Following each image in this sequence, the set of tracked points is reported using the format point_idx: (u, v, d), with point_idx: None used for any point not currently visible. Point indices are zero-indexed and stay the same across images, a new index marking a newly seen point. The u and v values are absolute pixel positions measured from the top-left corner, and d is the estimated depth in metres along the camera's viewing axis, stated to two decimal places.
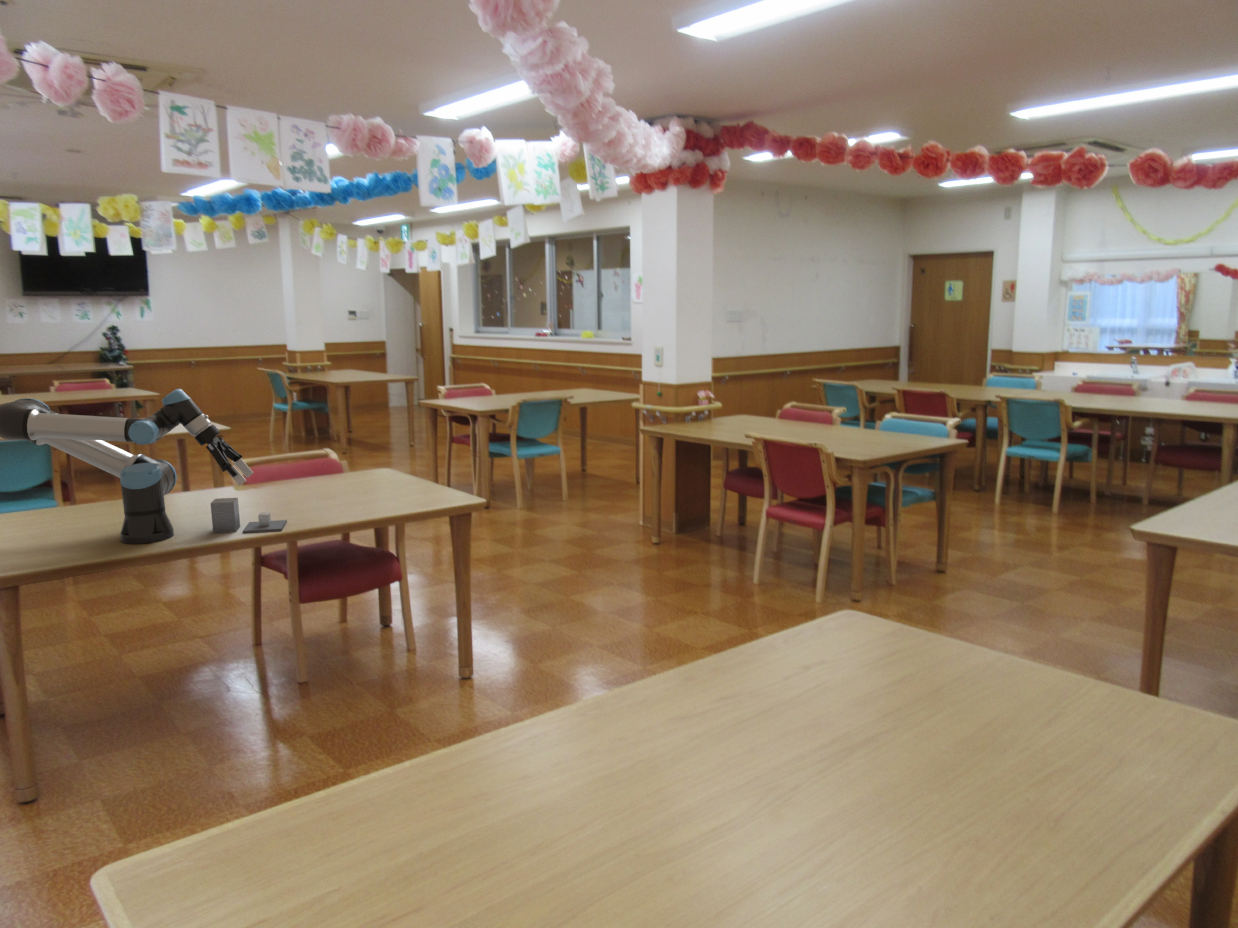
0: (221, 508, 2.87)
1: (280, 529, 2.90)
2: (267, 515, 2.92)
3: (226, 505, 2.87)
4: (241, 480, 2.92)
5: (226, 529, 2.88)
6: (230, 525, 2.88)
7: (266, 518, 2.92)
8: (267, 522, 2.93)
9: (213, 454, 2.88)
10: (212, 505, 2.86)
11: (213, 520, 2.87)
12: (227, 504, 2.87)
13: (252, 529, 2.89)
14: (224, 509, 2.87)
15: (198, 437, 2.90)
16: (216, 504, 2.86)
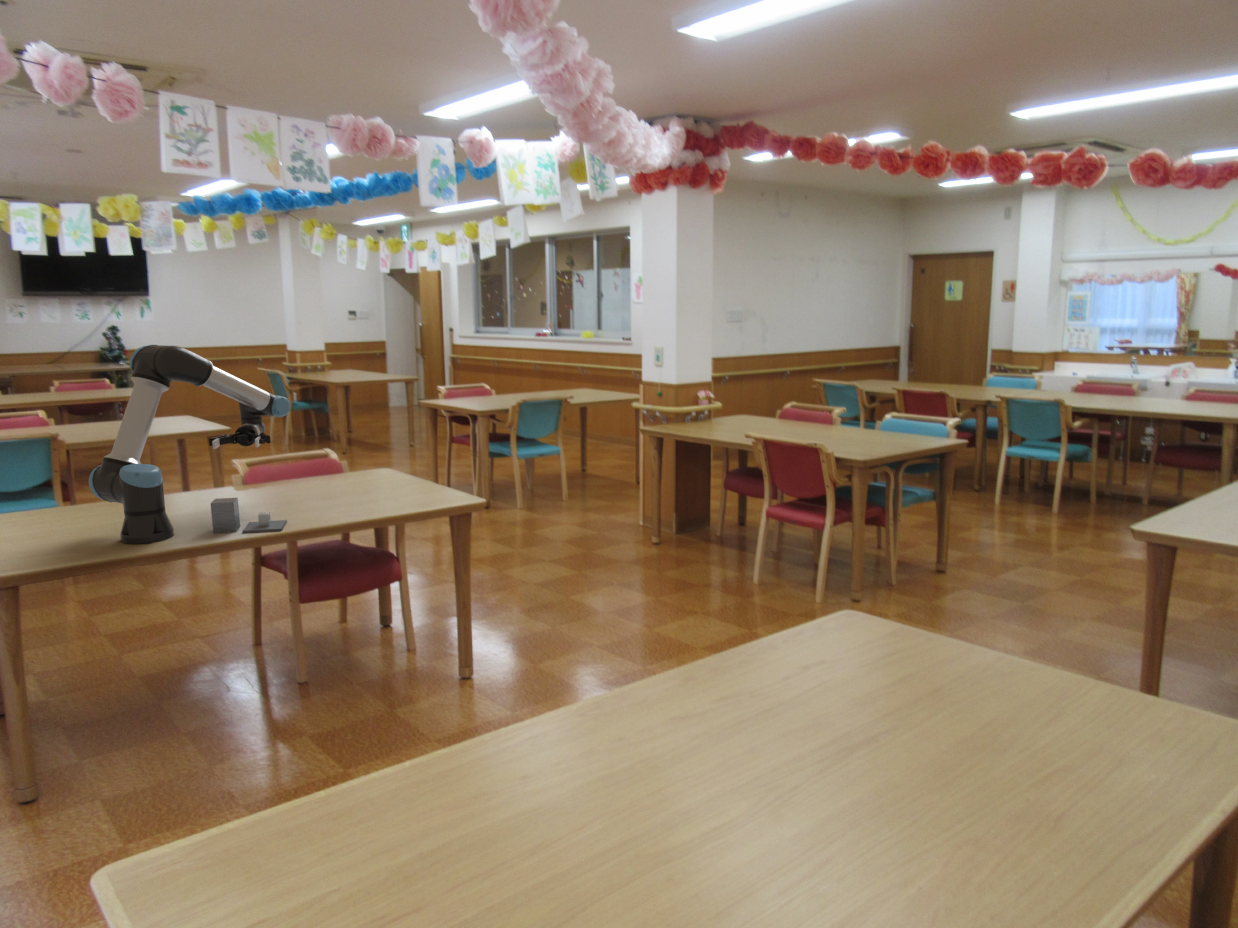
0: (221, 508, 2.87)
1: (280, 529, 2.90)
2: (267, 515, 2.92)
3: (226, 505, 2.87)
4: (257, 443, 3.03)
5: (226, 529, 2.88)
6: (230, 525, 2.88)
7: (266, 518, 2.92)
8: (267, 522, 2.93)
9: None
10: (212, 505, 2.86)
11: (213, 520, 2.87)
12: (227, 504, 2.87)
13: (252, 529, 2.89)
14: (224, 509, 2.87)
15: (255, 429, 3.21)
16: (216, 504, 2.86)
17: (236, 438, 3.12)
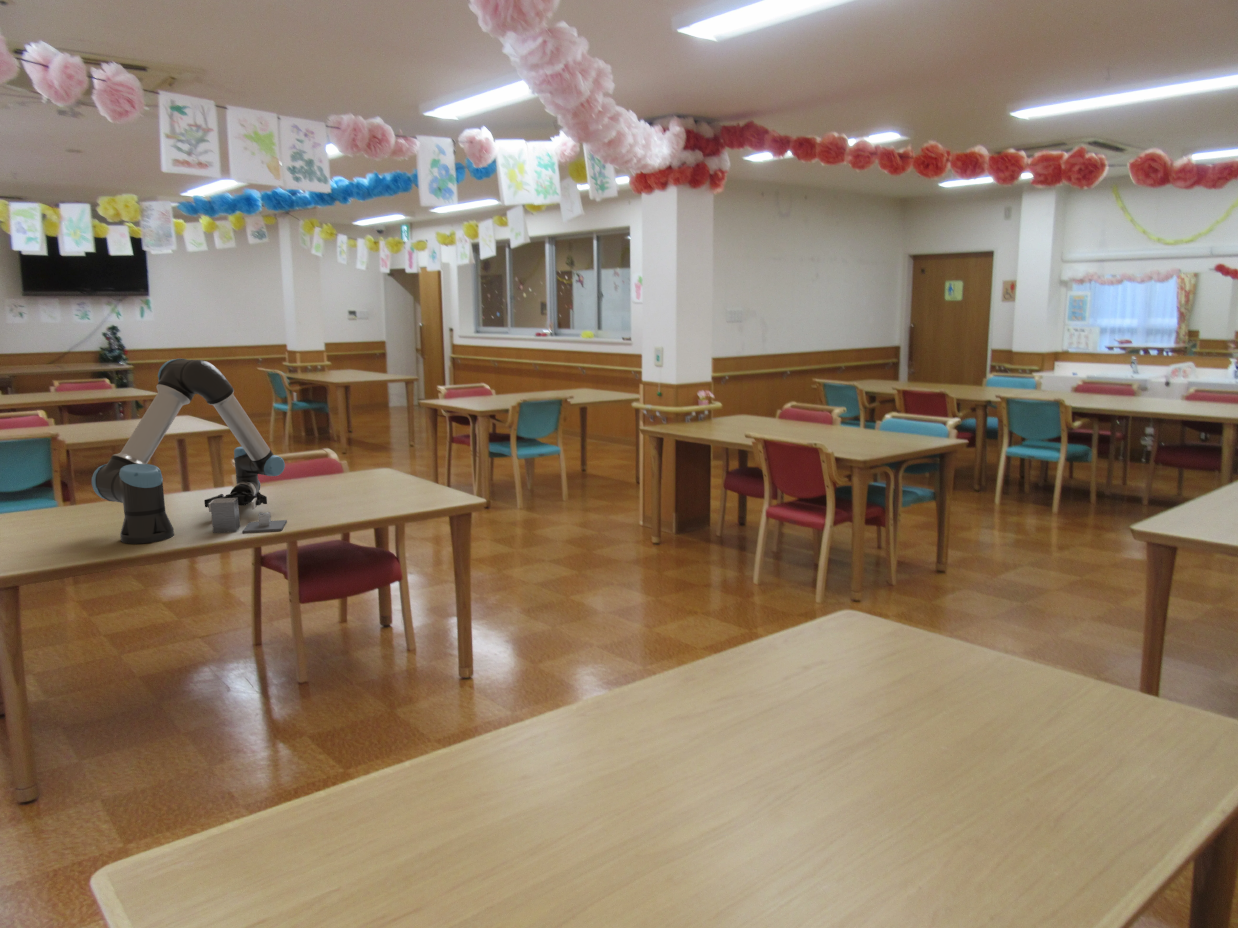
0: (221, 508, 2.87)
1: (280, 529, 2.90)
2: (267, 515, 2.92)
3: (226, 505, 2.87)
4: (254, 505, 3.01)
5: (226, 529, 2.88)
6: (230, 525, 2.88)
7: (266, 518, 2.92)
8: (267, 522, 2.93)
9: None
10: (212, 505, 2.86)
11: (213, 520, 2.87)
12: (227, 504, 2.87)
13: (252, 529, 2.89)
14: (224, 509, 2.87)
15: (251, 488, 3.18)
16: (216, 504, 2.86)
17: None
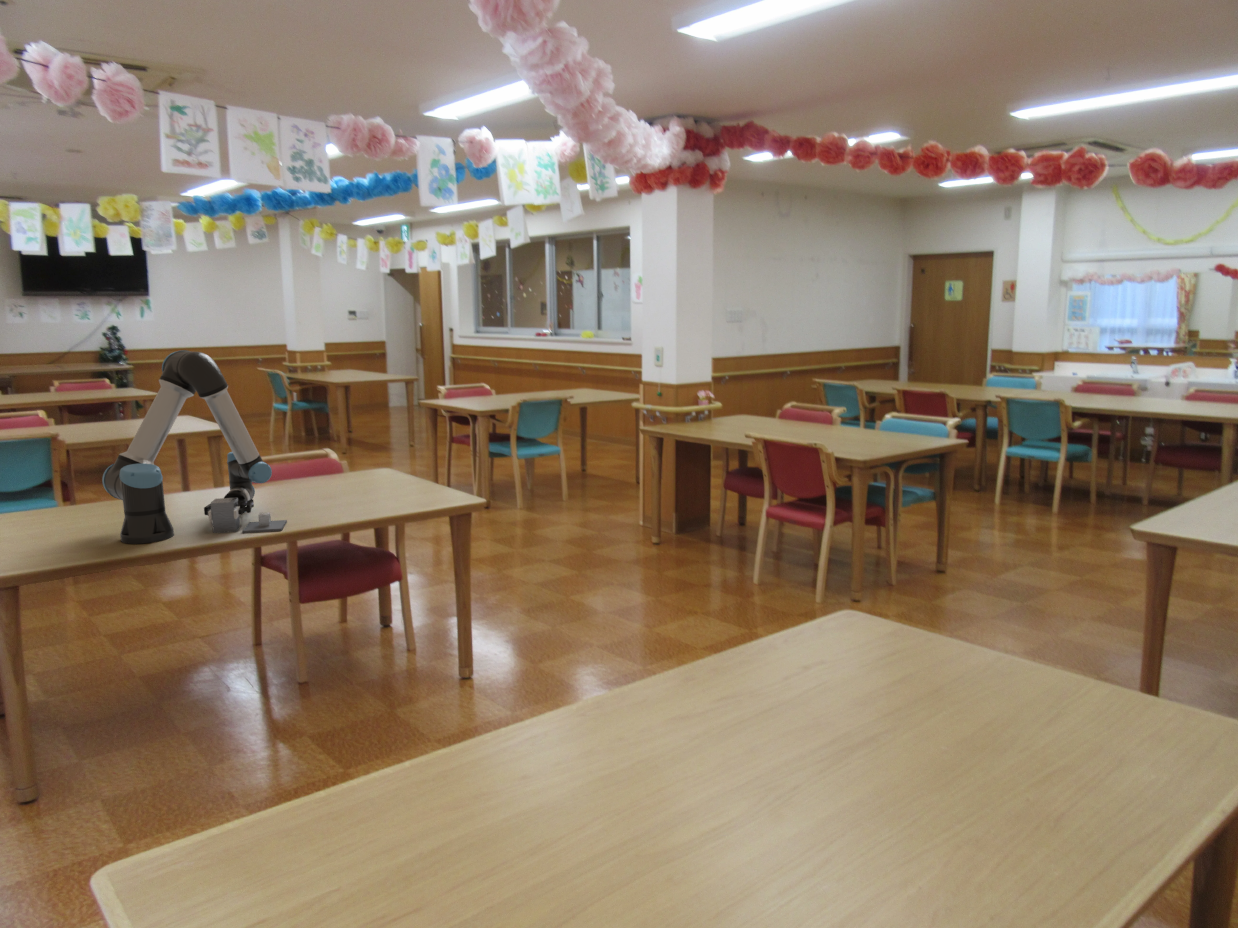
0: (221, 508, 2.87)
1: (280, 529, 2.90)
2: (267, 515, 2.92)
3: (226, 505, 2.87)
4: (236, 514, 2.88)
5: (226, 529, 2.88)
6: (230, 525, 2.88)
7: (266, 518, 2.92)
8: (267, 522, 2.93)
9: (251, 503, 3.00)
10: (212, 505, 2.86)
11: (213, 520, 2.87)
12: (227, 504, 2.87)
13: (252, 529, 2.89)
14: (224, 509, 2.87)
15: (245, 495, 3.08)
16: (216, 504, 2.86)
17: None
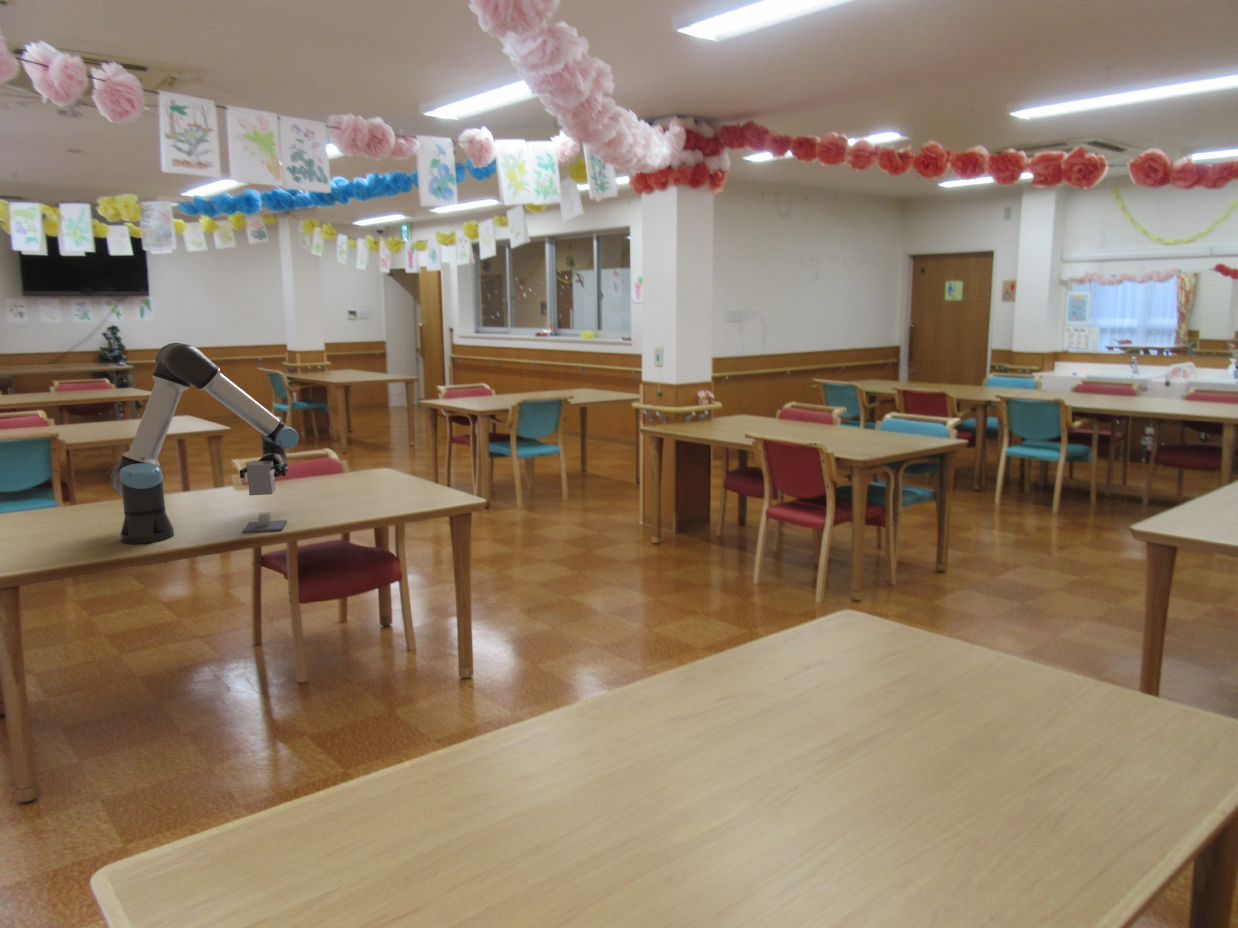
0: (257, 470, 2.87)
1: (280, 529, 2.90)
2: (267, 515, 2.92)
3: (262, 467, 2.87)
4: (272, 476, 2.88)
5: (262, 491, 2.89)
6: (266, 487, 2.89)
7: (266, 518, 2.92)
8: (267, 522, 2.93)
9: (285, 467, 3.01)
10: (248, 467, 2.87)
11: (249, 482, 2.87)
12: (263, 466, 2.87)
13: (252, 529, 2.89)
14: (260, 472, 2.88)
15: (278, 459, 3.08)
16: (252, 466, 2.87)
17: None
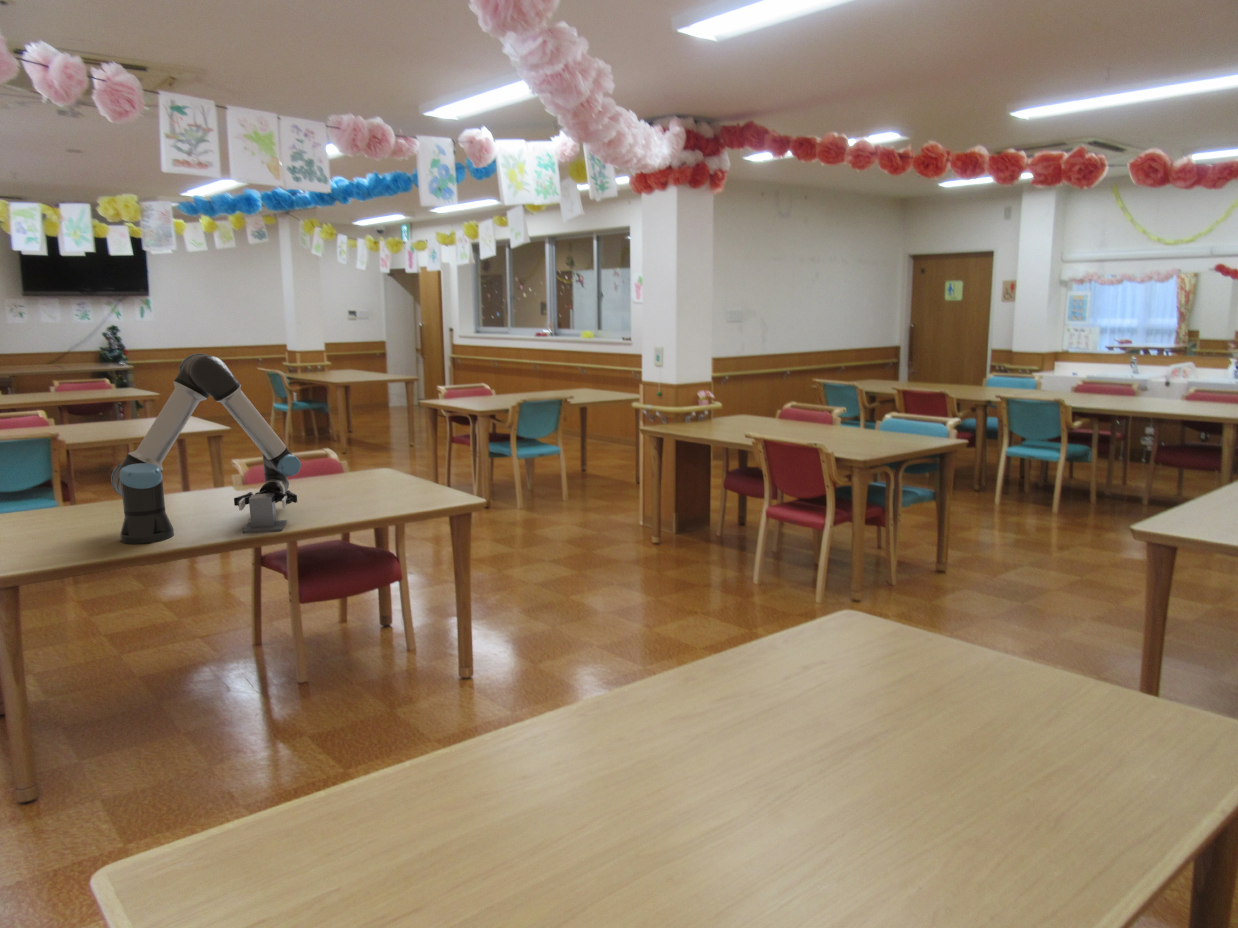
0: (259, 503, 2.89)
1: (280, 529, 2.90)
2: None
3: (264, 500, 2.90)
4: (285, 504, 2.92)
5: (264, 524, 2.91)
6: (268, 520, 2.91)
7: None
8: None
9: None
10: (250, 500, 2.89)
11: (251, 515, 2.89)
12: (265, 499, 2.90)
13: (252, 529, 2.89)
14: (262, 505, 2.90)
15: (281, 486, 3.10)
16: (254, 499, 2.89)
17: None
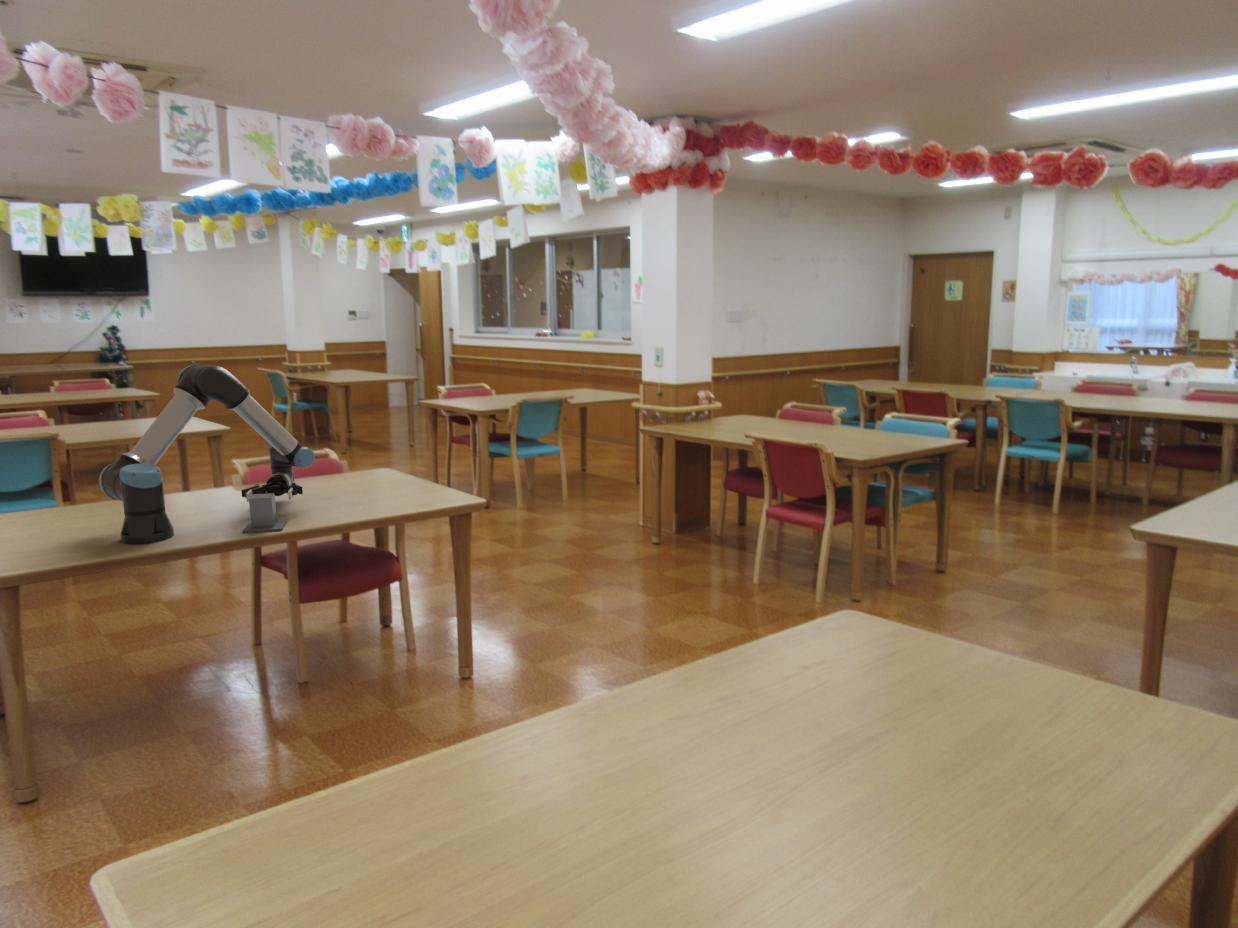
0: (259, 503, 2.89)
1: (280, 529, 2.90)
2: None
3: (264, 500, 2.90)
4: (291, 495, 3.05)
5: (264, 524, 2.91)
6: (268, 520, 2.91)
7: None
8: None
9: None
10: (250, 500, 2.89)
11: (251, 515, 2.89)
12: (265, 499, 2.90)
13: (252, 529, 2.89)
14: (262, 505, 2.90)
15: (286, 479, 3.22)
16: (254, 499, 2.89)
17: (268, 489, 3.14)
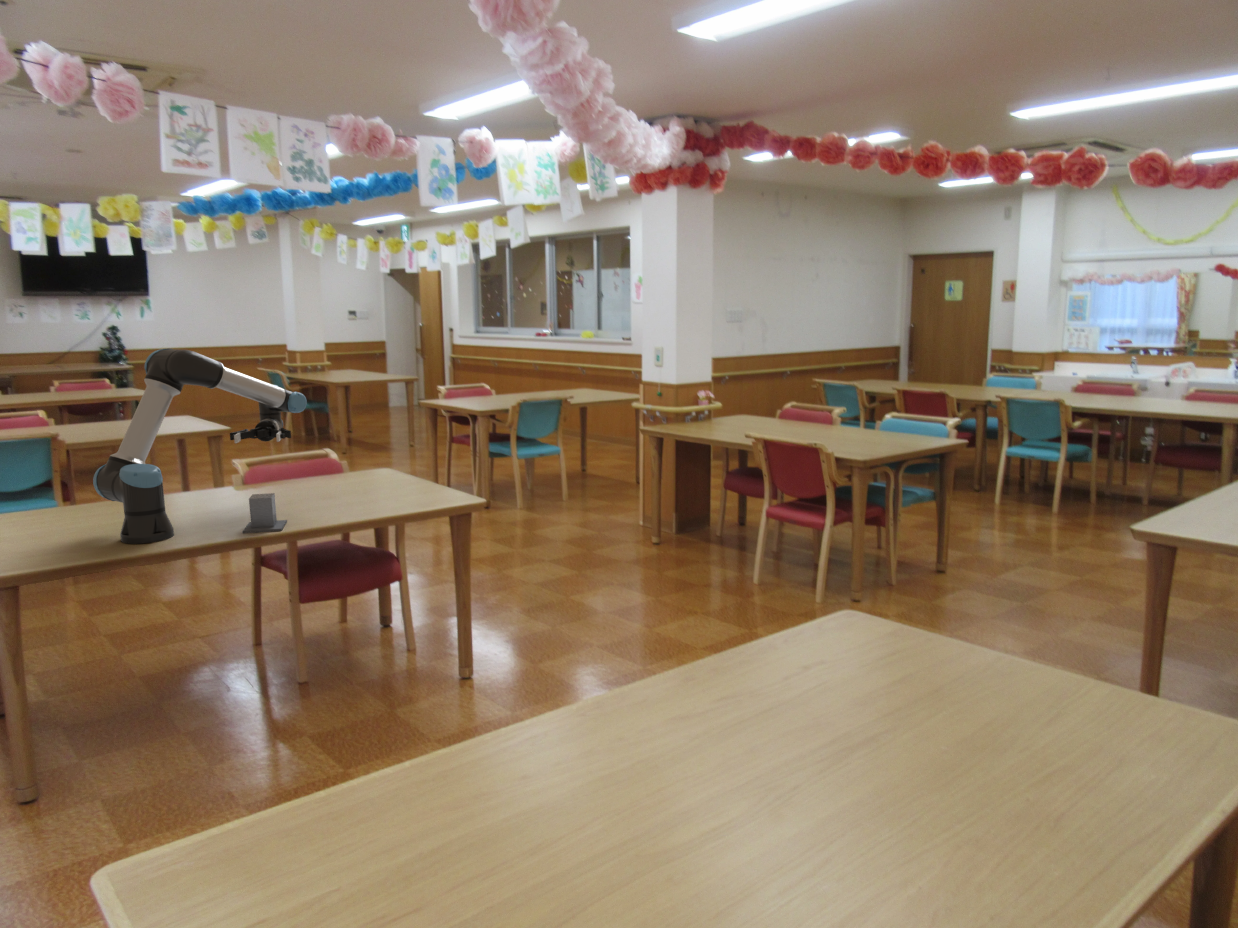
0: (259, 503, 2.89)
1: (280, 529, 2.90)
2: None
3: (264, 500, 2.90)
4: (279, 438, 3.05)
5: (264, 524, 2.91)
6: (268, 520, 2.91)
7: None
8: None
9: None
10: (250, 500, 2.89)
11: (251, 515, 2.89)
12: (265, 499, 2.90)
13: (252, 529, 2.89)
14: (262, 505, 2.90)
15: (275, 425, 3.22)
16: (254, 499, 2.89)
17: (256, 433, 3.14)
